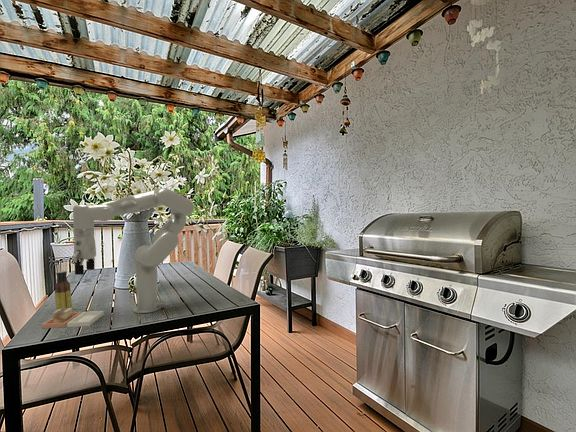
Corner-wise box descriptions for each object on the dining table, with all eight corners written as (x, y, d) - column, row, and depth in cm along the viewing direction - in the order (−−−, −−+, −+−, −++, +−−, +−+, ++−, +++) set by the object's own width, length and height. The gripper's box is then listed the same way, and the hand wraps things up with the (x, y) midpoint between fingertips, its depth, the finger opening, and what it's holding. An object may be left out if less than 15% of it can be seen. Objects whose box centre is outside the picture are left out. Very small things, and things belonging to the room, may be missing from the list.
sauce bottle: (69, 308, 157) (68, 269, 156) (73, 311, 153) (72, 270, 152) (53, 312, 152) (52, 271, 151) (57, 315, 148) (56, 273, 147)
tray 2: (103, 316, 147) (103, 310, 146) (89, 327, 133) (89, 321, 133) (84, 317, 145) (84, 311, 145) (67, 328, 132) (67, 323, 131)
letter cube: (72, 319, 141) (72, 307, 140) (66, 323, 136) (65, 311, 135) (60, 319, 140) (59, 308, 140) (53, 324, 135) (53, 312, 135)
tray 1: (81, 317, 145) (81, 311, 145) (64, 329, 131) (64, 323, 131) (61, 318, 144) (61, 312, 144) (42, 330, 130) (42, 324, 130)
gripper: (83, 234, 130) (84, 276, 130) (102, 231, 147) (103, 267, 147) (63, 235, 129) (64, 276, 129) (84, 231, 146) (85, 268, 146)
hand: (85, 272), depth 138 cm, fingers open, 9 cm apart
